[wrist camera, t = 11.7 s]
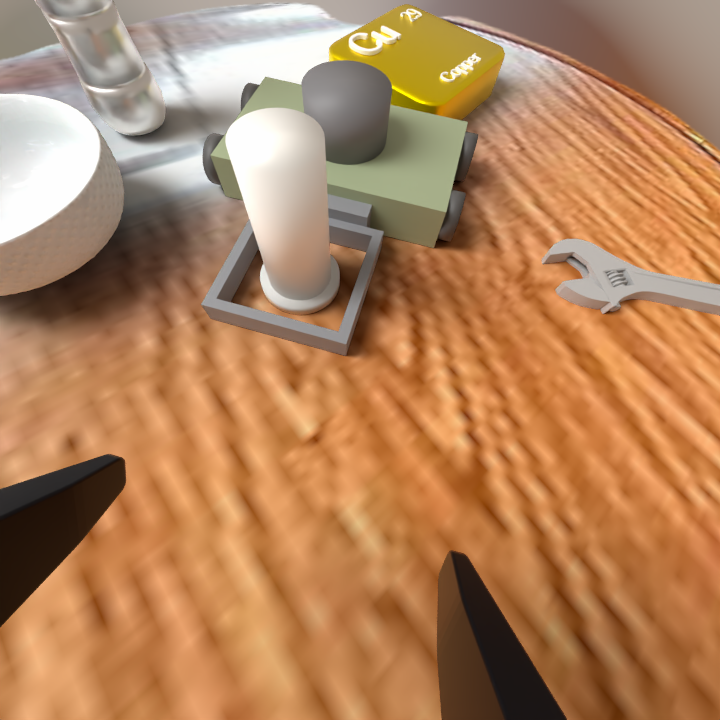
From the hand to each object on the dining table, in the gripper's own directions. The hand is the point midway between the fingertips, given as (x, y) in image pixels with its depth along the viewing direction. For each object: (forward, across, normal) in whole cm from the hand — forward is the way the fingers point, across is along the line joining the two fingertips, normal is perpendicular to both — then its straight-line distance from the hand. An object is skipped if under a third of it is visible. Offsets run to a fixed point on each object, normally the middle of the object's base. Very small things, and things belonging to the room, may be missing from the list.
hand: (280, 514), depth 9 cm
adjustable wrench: (+26, -26, -7) cm, 38 cm away
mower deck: (+26, +6, -7) cm, 28 cm away
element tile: (+43, +3, -23) cm, 49 cm away
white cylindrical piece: (+21, +6, -2) cm, 22 cm away
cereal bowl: (+20, +28, -1) cm, 35 cm away
